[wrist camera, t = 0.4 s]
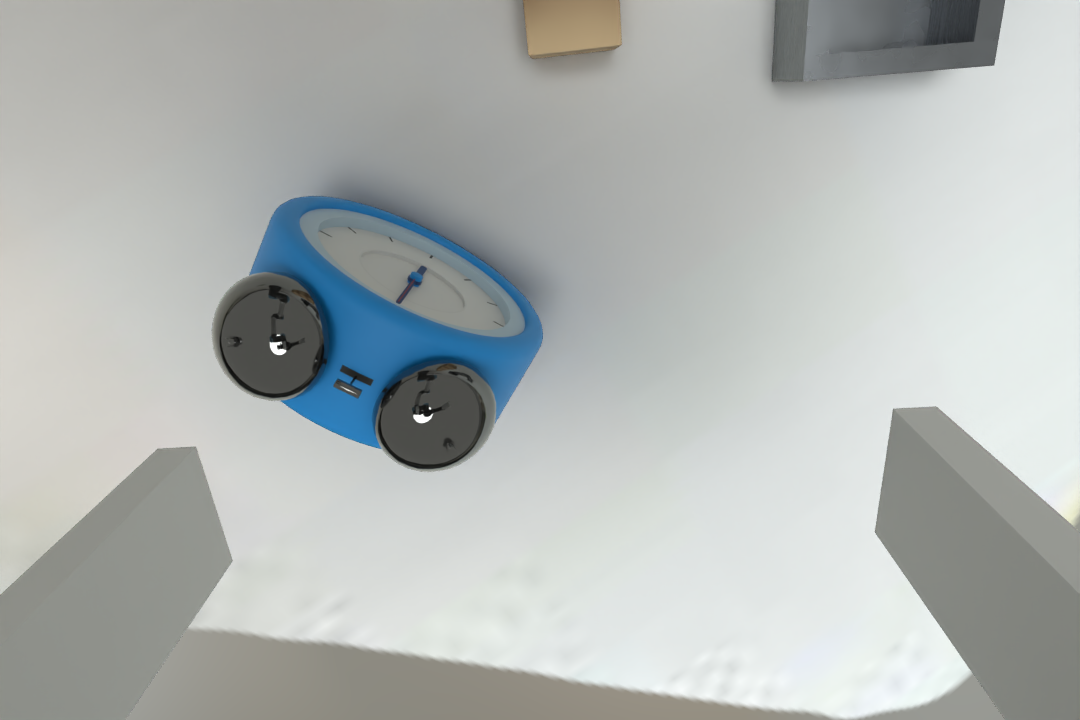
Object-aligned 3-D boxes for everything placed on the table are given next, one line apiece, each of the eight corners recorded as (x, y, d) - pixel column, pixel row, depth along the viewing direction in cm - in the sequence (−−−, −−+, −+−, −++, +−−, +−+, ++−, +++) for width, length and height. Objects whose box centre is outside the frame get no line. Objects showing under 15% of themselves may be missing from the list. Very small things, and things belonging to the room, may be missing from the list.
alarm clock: (549, 290, 37) (543, 411, 24) (499, 377, 40) (467, 534, 26) (334, 175, 35) (190, 234, 21) (294, 273, 37) (138, 385, 24)
